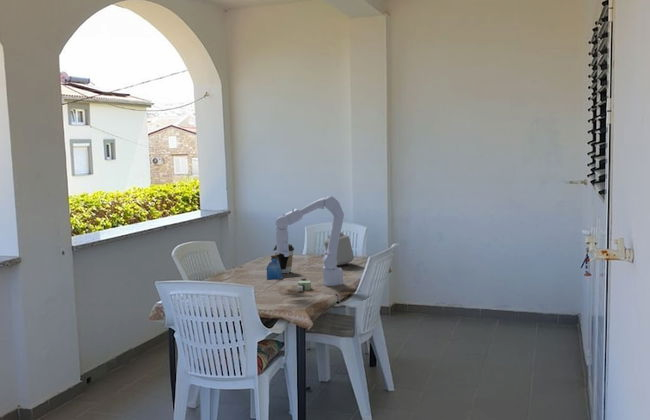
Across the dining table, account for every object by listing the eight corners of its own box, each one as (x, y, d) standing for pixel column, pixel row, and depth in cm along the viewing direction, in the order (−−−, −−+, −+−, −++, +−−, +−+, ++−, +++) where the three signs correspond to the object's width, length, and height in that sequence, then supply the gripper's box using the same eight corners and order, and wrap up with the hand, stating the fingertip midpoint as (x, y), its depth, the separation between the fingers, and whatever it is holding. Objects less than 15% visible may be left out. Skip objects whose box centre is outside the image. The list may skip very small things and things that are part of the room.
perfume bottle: (271, 277, 321) (270, 254, 320) (282, 277, 319) (281, 255, 318) (267, 279, 315) (266, 256, 314) (278, 280, 313) (277, 257, 312)
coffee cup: (277, 270, 339) (276, 243, 338) (297, 270, 337) (296, 243, 335) (271, 274, 328) (270, 246, 327) (291, 274, 326) (291, 247, 324)
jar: (319, 267, 345) (318, 223, 342) (323, 262, 359) (322, 220, 357) (352, 267, 342) (352, 223, 339) (355, 262, 356) (354, 220, 354)
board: (309, 286, 298) (309, 276, 297) (321, 293, 282) (321, 283, 281) (272, 289, 291) (272, 280, 291) (281, 297, 275) (281, 287, 275)
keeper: (299, 287, 289) (299, 280, 289) (311, 287, 288) (310, 280, 288) (298, 290, 285) (297, 282, 284) (309, 290, 284) (309, 282, 284)
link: (300, 284, 295) (300, 280, 295) (307, 284, 295) (307, 280, 295) (296, 291, 281) (296, 287, 280) (303, 291, 280) (303, 287, 280)
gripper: (270, 239, 297) (271, 267, 299) (278, 244, 284) (279, 272, 285) (284, 238, 300) (285, 266, 301) (292, 243, 286) (293, 271, 287)
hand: (283, 269), depth 293 cm, fingers closed
